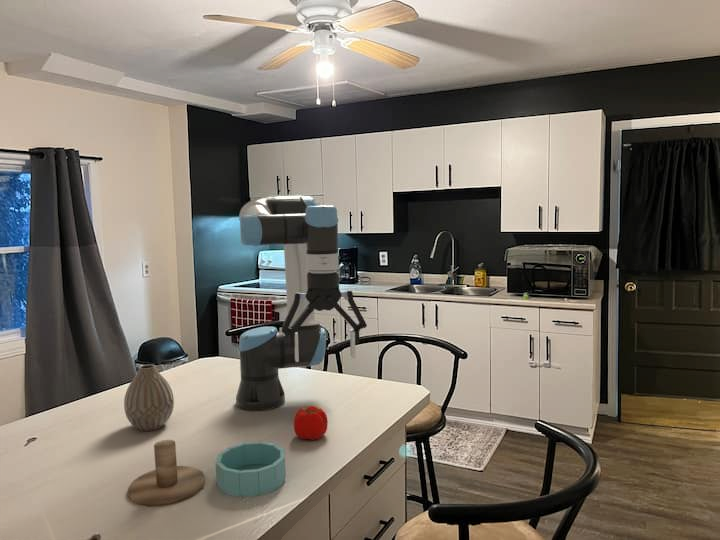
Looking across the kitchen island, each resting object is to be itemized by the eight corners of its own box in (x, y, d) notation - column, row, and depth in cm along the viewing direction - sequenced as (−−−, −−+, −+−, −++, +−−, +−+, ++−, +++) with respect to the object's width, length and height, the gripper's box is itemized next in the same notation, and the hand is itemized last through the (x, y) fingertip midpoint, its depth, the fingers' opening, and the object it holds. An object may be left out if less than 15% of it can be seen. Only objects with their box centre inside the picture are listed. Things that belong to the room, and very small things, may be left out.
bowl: (207, 478, 127) (205, 454, 126) (266, 459, 136) (265, 436, 135) (235, 506, 115) (234, 479, 114) (298, 483, 124) (297, 458, 124)
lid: (119, 483, 125) (116, 442, 123) (189, 462, 134) (187, 423, 133) (140, 514, 112) (137, 468, 111) (216, 488, 122) (214, 446, 120)
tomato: (312, 427, 155) (312, 401, 154) (334, 436, 149) (333, 409, 148) (285, 437, 149) (284, 410, 148) (306, 447, 143) (306, 419, 142)
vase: (117, 427, 158) (113, 367, 156) (161, 414, 167) (157, 357, 165) (139, 440, 149) (134, 376, 147) (183, 425, 158) (180, 365, 156)
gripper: (269, 275, 126) (273, 366, 129) (377, 271, 130) (379, 359, 133) (269, 271, 134) (272, 357, 136) (371, 267, 138) (372, 351, 140)
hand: (325, 358), depth 135 cm, fingers open, 13 cm apart
